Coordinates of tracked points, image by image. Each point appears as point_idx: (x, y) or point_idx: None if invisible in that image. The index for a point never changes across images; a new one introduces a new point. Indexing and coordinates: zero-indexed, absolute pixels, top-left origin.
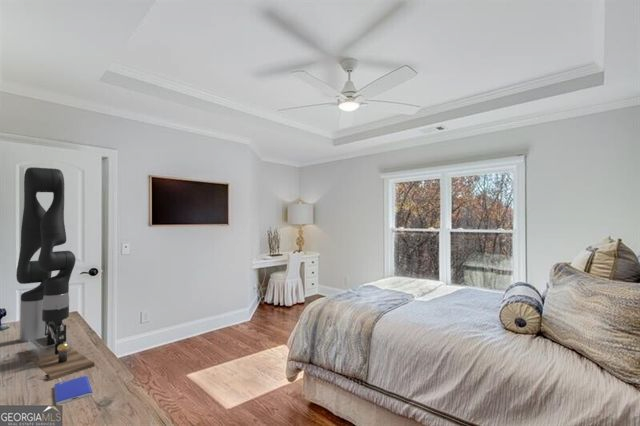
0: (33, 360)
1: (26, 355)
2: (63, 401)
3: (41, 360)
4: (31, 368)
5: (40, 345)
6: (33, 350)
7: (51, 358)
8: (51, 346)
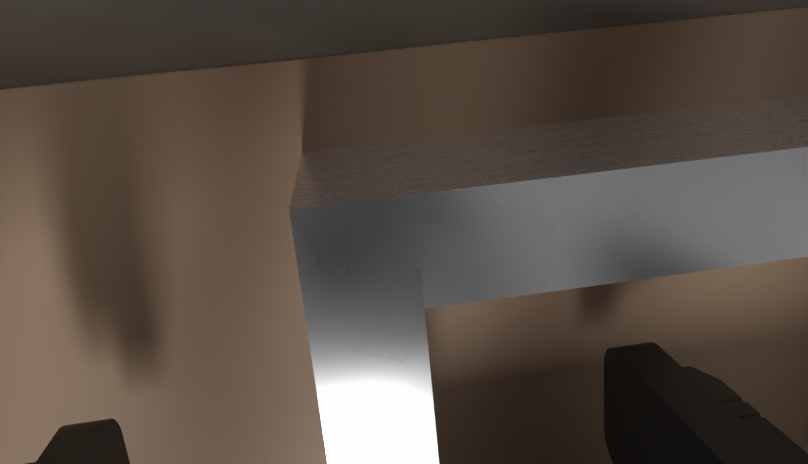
0: (391, 70)
1: (806, 11)
2: None
3: (267, 180)
4: (159, 9)
5: (615, 261)
6: (760, 117)
7: (249, 323)
8: (327, 452)
